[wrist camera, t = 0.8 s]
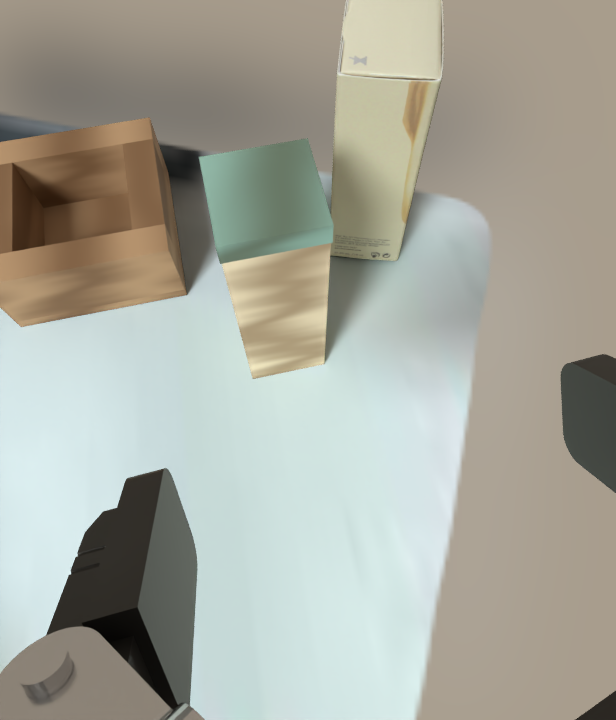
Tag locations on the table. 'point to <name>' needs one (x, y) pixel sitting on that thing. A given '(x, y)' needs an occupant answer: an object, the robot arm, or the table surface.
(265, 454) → the table surface
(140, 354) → the table surface
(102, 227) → the socket block
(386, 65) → the skincare box
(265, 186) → the peg
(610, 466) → the robot arm
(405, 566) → the table surface
